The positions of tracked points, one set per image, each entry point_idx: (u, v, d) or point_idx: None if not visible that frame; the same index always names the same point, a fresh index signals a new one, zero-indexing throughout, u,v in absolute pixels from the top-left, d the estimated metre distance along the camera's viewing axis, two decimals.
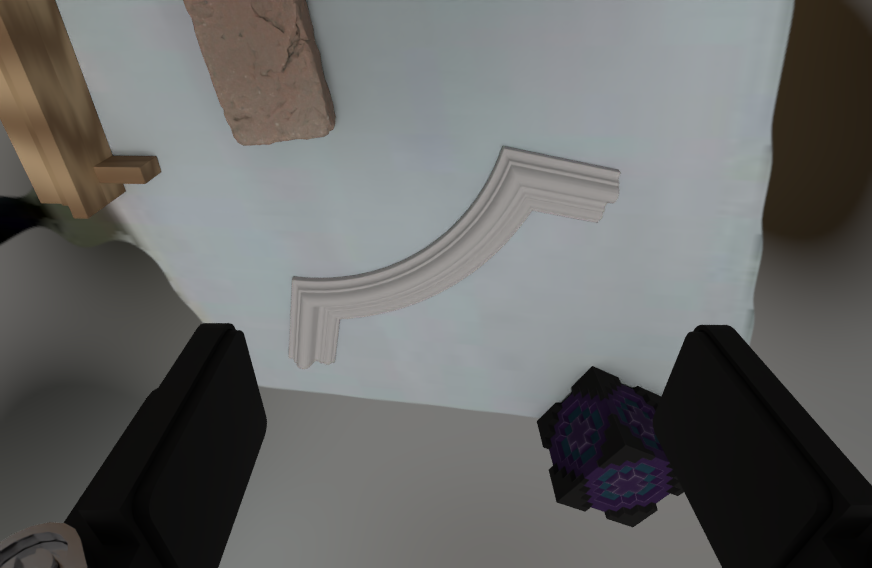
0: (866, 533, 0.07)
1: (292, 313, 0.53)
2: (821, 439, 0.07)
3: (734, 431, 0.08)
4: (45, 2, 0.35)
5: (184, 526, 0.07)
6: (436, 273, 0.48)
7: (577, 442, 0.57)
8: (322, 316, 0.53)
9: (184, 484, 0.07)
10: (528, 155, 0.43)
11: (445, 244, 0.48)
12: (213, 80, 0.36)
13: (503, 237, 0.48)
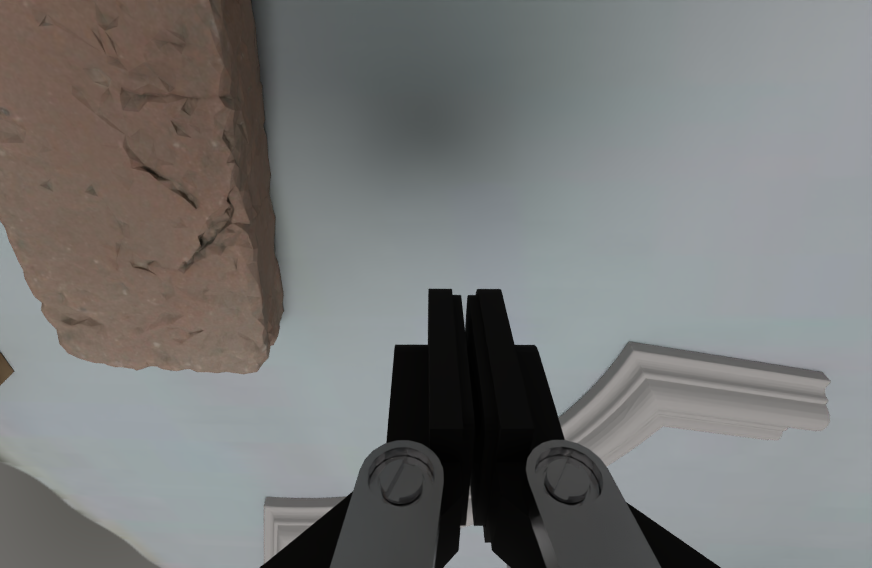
0: None
1: (266, 540, 0.34)
2: (515, 379, 0.08)
3: (474, 379, 0.09)
4: None
5: None
6: None
7: None
8: None
9: None
10: (675, 360, 0.24)
11: None
12: (18, 254, 0.16)
13: (610, 462, 0.29)
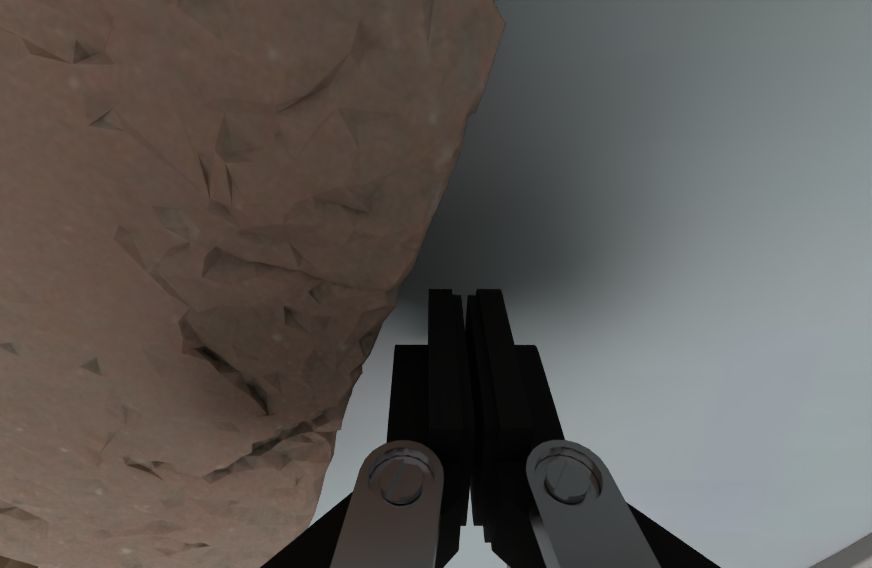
0: None
1: None
2: (515, 379, 0.08)
3: (474, 379, 0.09)
4: None
5: None
6: None
7: None
8: None
9: None
10: None
11: None
12: None
13: None
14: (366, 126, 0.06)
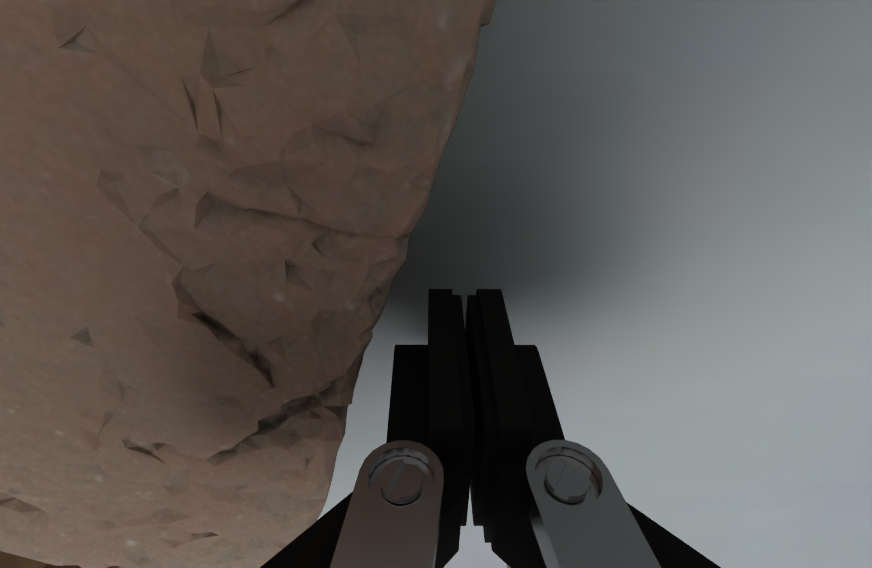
0: None
1: None
2: (515, 379, 0.08)
3: (475, 379, 0.09)
4: None
5: None
6: None
7: None
8: None
9: None
10: None
11: None
12: None
13: None
14: (367, 37, 0.05)
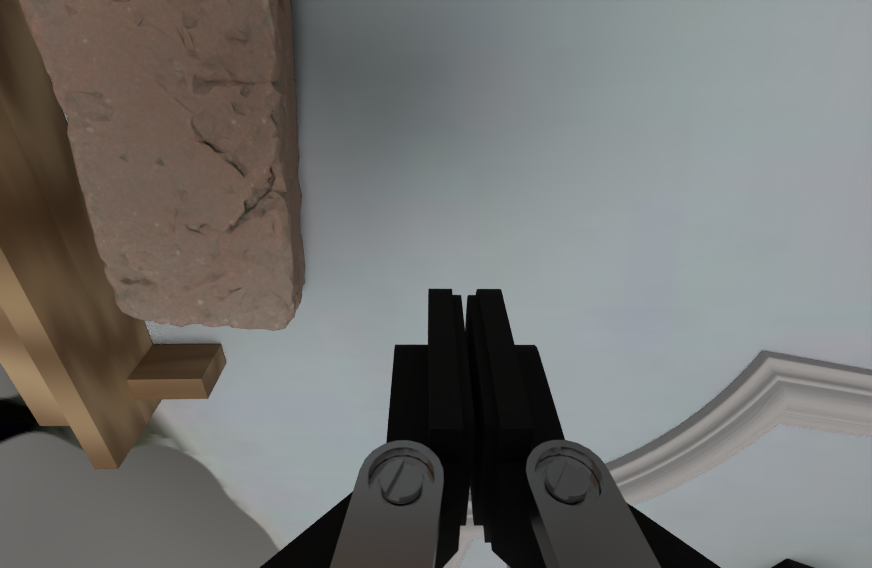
0: None
1: None
2: (515, 379, 0.08)
3: (474, 379, 0.09)
4: (56, 144, 0.20)
5: None
6: (632, 501, 0.34)
7: None
8: None
9: None
10: (800, 365, 0.30)
11: (647, 463, 0.34)
12: (92, 218, 0.19)
13: (730, 456, 0.34)
14: None
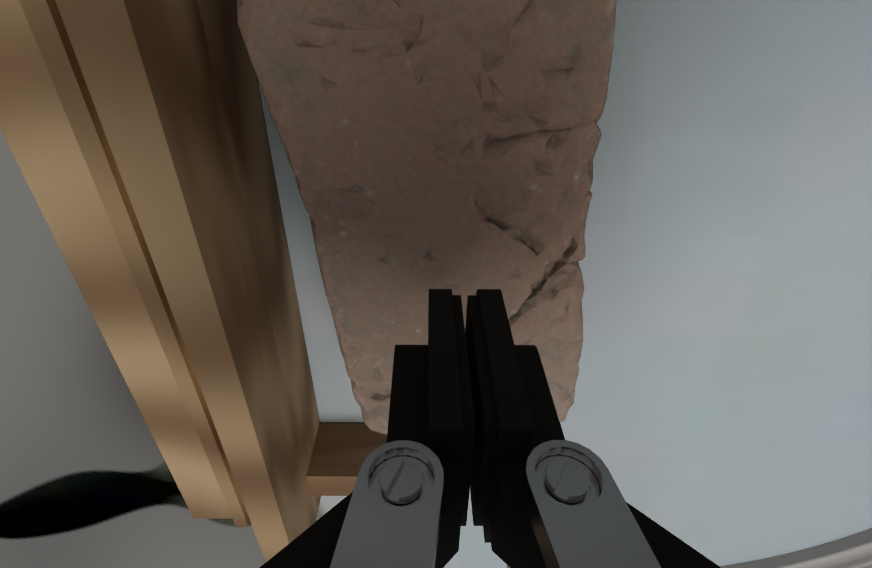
0: None
1: None
2: (515, 379, 0.08)
3: (474, 379, 0.09)
4: (269, 211, 0.16)
5: None
6: None
7: None
8: None
9: None
10: None
11: (858, 556, 0.30)
12: (342, 336, 0.15)
13: None
14: (561, 9, 0.10)
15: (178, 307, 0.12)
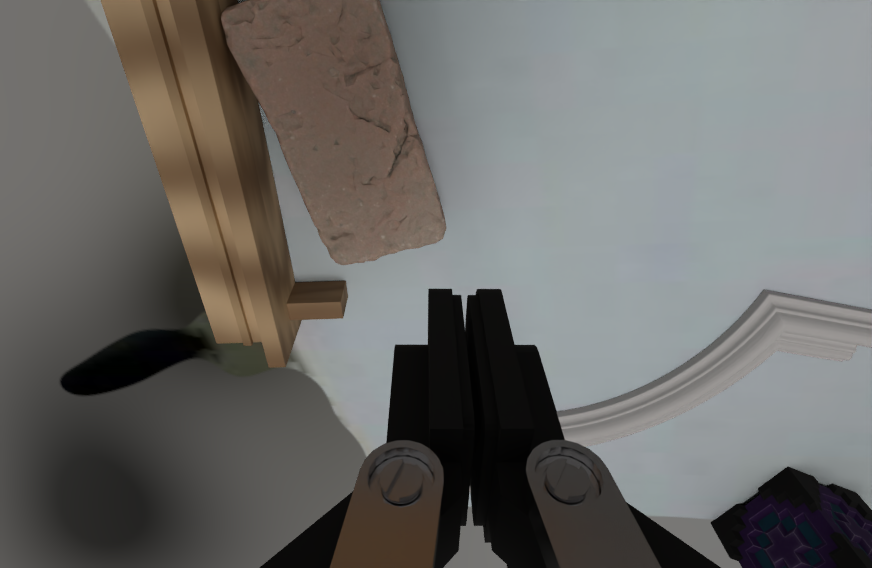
0: None
1: None
2: (515, 379, 0.08)
3: (474, 379, 0.09)
4: (257, 128, 0.29)
5: None
6: (662, 415, 0.44)
7: (786, 560, 0.50)
8: None
9: None
10: (793, 300, 0.39)
11: (674, 384, 0.43)
12: (305, 199, 0.29)
13: (739, 377, 0.43)
14: (355, 12, 0.24)
15: (216, 159, 0.26)
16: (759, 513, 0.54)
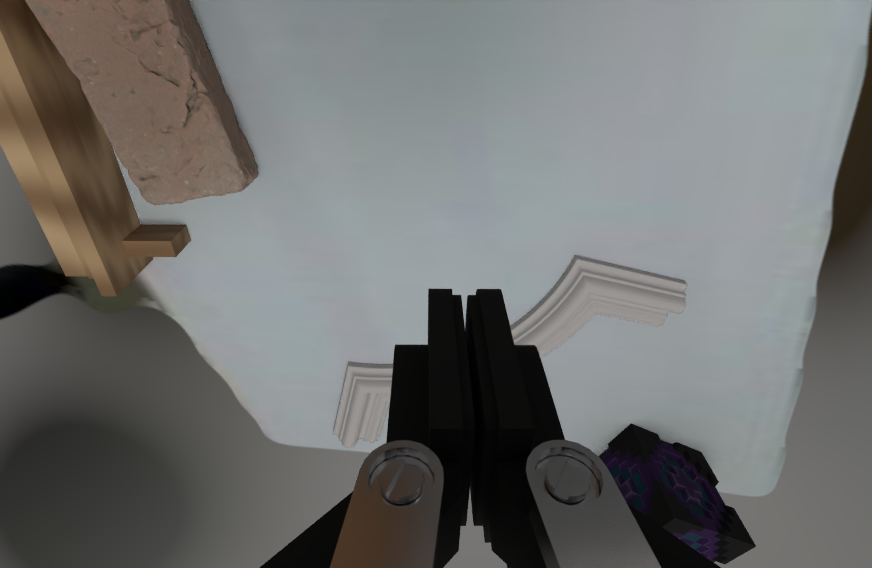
0: None
1: (343, 395, 0.52)
2: (515, 379, 0.08)
3: (474, 379, 0.09)
4: (75, 78, 0.33)
5: None
6: None
7: None
8: (373, 399, 0.53)
9: None
10: (600, 266, 0.43)
11: None
12: (110, 140, 0.33)
13: (565, 337, 0.48)
14: None
15: (15, 99, 0.30)
16: (606, 466, 0.58)
